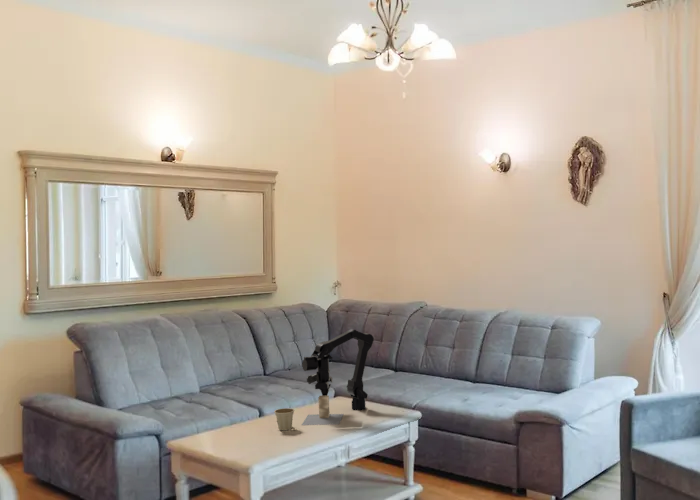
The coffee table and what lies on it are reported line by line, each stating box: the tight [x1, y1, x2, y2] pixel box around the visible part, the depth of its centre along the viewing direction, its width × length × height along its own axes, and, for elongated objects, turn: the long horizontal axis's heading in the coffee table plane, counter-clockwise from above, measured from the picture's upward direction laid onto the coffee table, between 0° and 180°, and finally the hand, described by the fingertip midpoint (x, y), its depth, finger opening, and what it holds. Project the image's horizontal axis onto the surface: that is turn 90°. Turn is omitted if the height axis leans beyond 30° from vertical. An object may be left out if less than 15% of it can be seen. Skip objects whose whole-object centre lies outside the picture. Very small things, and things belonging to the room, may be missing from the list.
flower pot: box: [274, 407, 295, 431], centre depth 326 cm, size 9×9×9 cm
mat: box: [301, 413, 344, 426], centre depth 339 cm, size 18×20×1 cm
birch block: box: [318, 394, 331, 418], centre depth 343 cm, size 4×5×10 cm
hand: (324, 399), depth 347 cm, fingers closed
